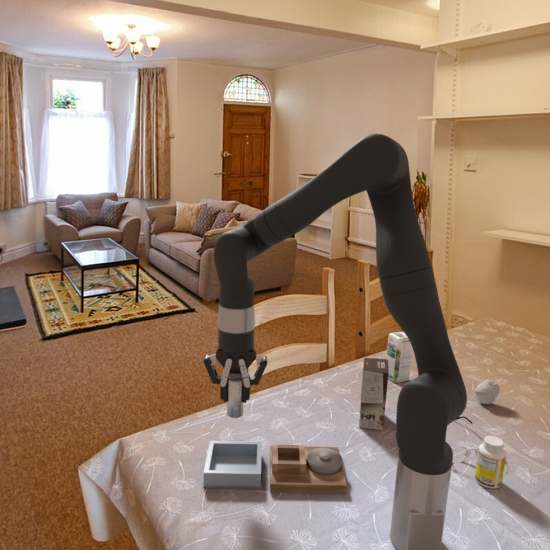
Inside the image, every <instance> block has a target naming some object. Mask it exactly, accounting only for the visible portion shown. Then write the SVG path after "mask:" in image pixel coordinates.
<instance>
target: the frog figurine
mask: <svg viewBox="0 0 550 550" xmlns="http://www.w3.org/2000/svg"><path fill="white" fill-rule="evenodd" d="M474 389H475V390H474V394H475V396H476V399H477V400H478V402H479V403H480V404H482V405H490V404H492V403H493V402H495V400H496V398H498V396H499V395H500V392H501V388H500V385H499V384H498V383H497V382H495V381H494V380H492V379H489V378H488V379H487V378H486V379H485V380H483V381H482V382H480V383H479V384H478V385H477V386H476V388H474Z"/></svg>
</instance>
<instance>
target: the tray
mask: <svg viewBox="0 0 550 550" xmlns="http://www.w3.org/2000/svg"><path fill="white" fill-rule="evenodd" d="M262 446H263V441H243V440H242V441H241V440H239V441H235V440H209V444H208V448H207V454H206V458H205V464H204V469H203V488H204V489H206V488H207V489H240V490H242V489H247V490H249V489H251V490H252V489H253V490H256V489H257V490H261V488H262V487H261V485H262V484H261V483H262V454H263V453H262Z"/></svg>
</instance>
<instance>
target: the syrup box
mask: <svg viewBox="0 0 550 550" xmlns="http://www.w3.org/2000/svg"><path fill="white" fill-rule="evenodd" d="M387 340H388V341H387V349H386V358H385V359H387V360H388V368H389V374H388V380H390V381H392V382H393V383H394V384H399V383H402V382H406V381H408V382H409V381H410V378H411V368H412V358H413V352H414V351H413V348H412V345H411V343H410V341H409V339H408V337H407V336H406V334H405V333H404V331H394V332H391V333H388V338H387Z"/></svg>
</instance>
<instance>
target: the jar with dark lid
mask: <svg viewBox="0 0 550 550" xmlns="http://www.w3.org/2000/svg"><path fill="white" fill-rule="evenodd" d="M243 379H244V378H242V374H241V373H239V372H229V374H228V378H227V402H226V416H227V417H229V418H231V419H239V418H241V417H243V416H244V404H245V403H243V386H244V381H243Z"/></svg>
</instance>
